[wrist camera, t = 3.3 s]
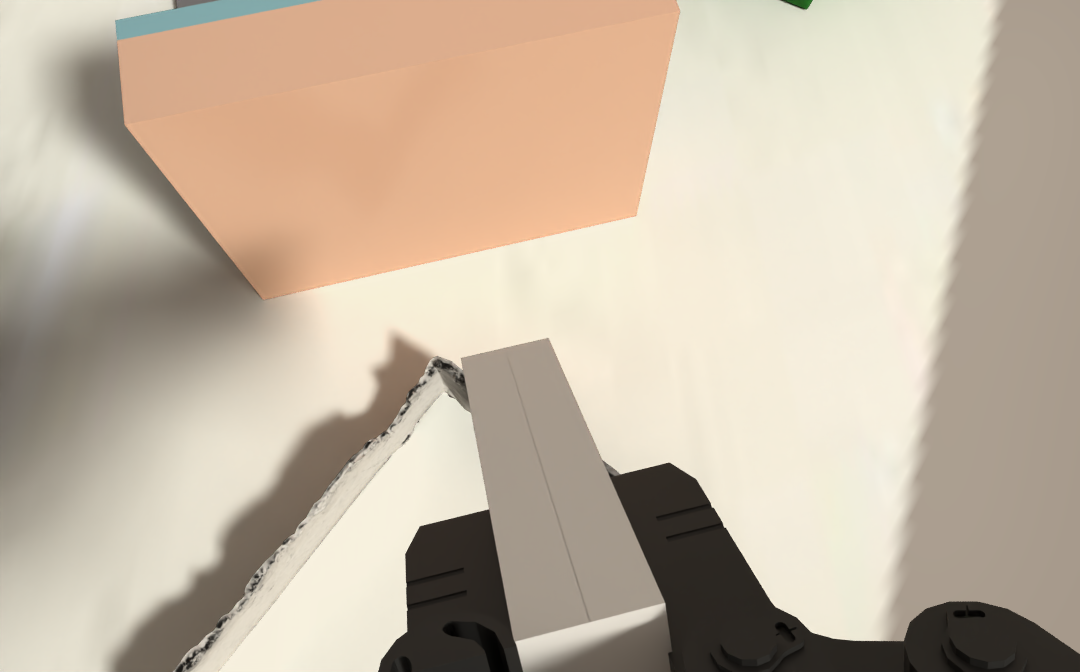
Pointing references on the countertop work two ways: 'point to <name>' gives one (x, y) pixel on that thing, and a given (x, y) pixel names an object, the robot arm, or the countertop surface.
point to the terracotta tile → (395, 124)
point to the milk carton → (800, 3)
